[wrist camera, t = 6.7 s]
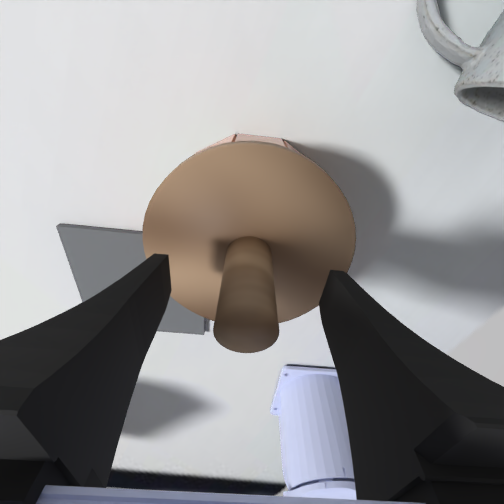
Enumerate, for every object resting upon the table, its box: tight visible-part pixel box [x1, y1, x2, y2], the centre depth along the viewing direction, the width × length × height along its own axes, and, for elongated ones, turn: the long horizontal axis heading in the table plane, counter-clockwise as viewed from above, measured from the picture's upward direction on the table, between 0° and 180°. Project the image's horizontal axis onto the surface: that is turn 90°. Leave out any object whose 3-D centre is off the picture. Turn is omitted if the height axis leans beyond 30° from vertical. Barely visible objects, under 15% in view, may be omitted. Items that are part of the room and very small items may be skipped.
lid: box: [142, 141, 356, 353], centre depth 12 cm, size 11×11×6 cm
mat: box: [56, 224, 205, 335], centre depth 20 cm, size 10×10×1 cm
